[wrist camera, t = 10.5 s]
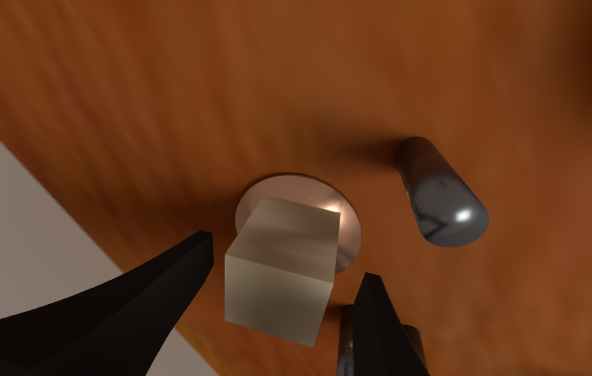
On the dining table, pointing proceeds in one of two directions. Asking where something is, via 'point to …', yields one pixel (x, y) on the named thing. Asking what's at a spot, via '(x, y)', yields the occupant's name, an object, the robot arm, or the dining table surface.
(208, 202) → the dining table surface
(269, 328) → the block
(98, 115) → the dining table surface
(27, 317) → the robot arm
